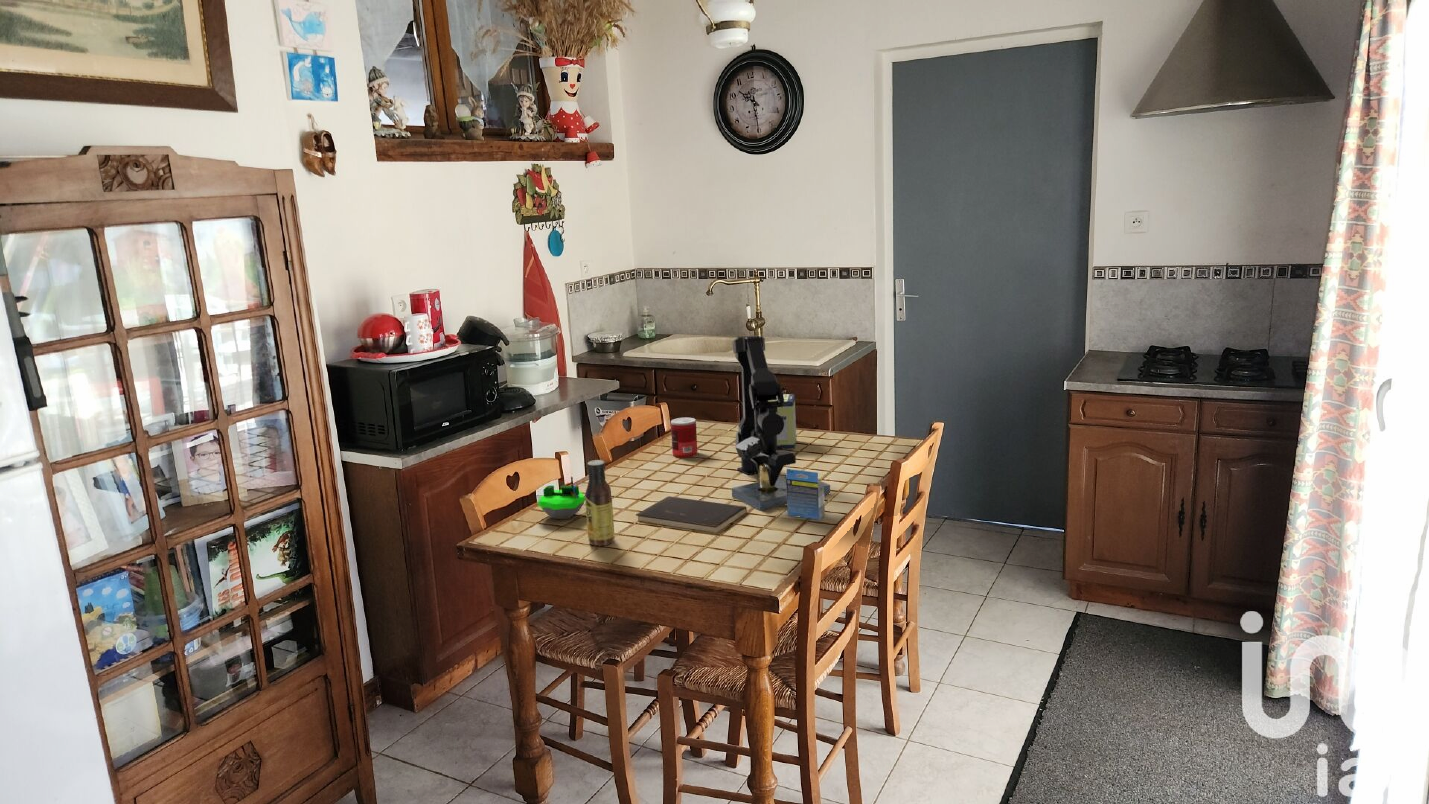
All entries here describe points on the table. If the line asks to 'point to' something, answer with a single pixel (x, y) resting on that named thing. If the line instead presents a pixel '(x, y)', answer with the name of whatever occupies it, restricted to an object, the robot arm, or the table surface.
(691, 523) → the hardcover book
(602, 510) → the sauce bottle
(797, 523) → the table surface
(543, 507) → the green floating island model
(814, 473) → the label tape box
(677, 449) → the canned food
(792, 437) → the protein box
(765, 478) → the cylinder
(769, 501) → the jig
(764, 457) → the robot arm
